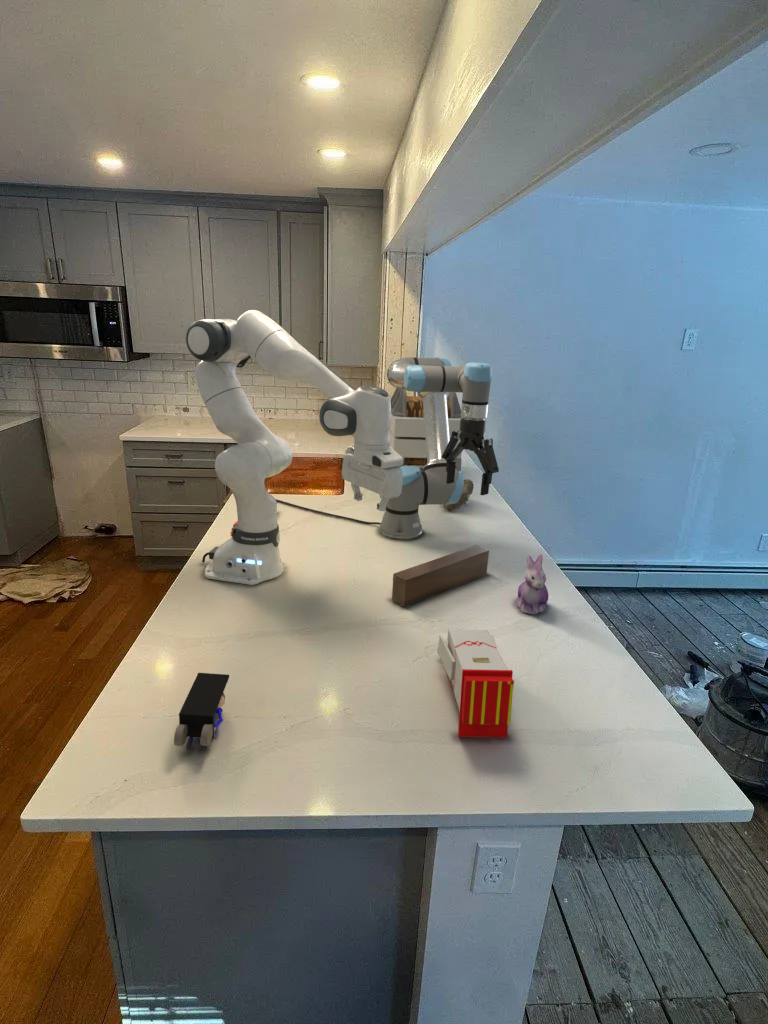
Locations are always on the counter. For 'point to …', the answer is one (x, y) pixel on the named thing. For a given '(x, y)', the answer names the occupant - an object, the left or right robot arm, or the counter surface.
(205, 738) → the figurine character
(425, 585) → the plank
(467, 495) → the fossil
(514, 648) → the counter surface
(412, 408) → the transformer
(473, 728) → the toy
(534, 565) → the figurine
